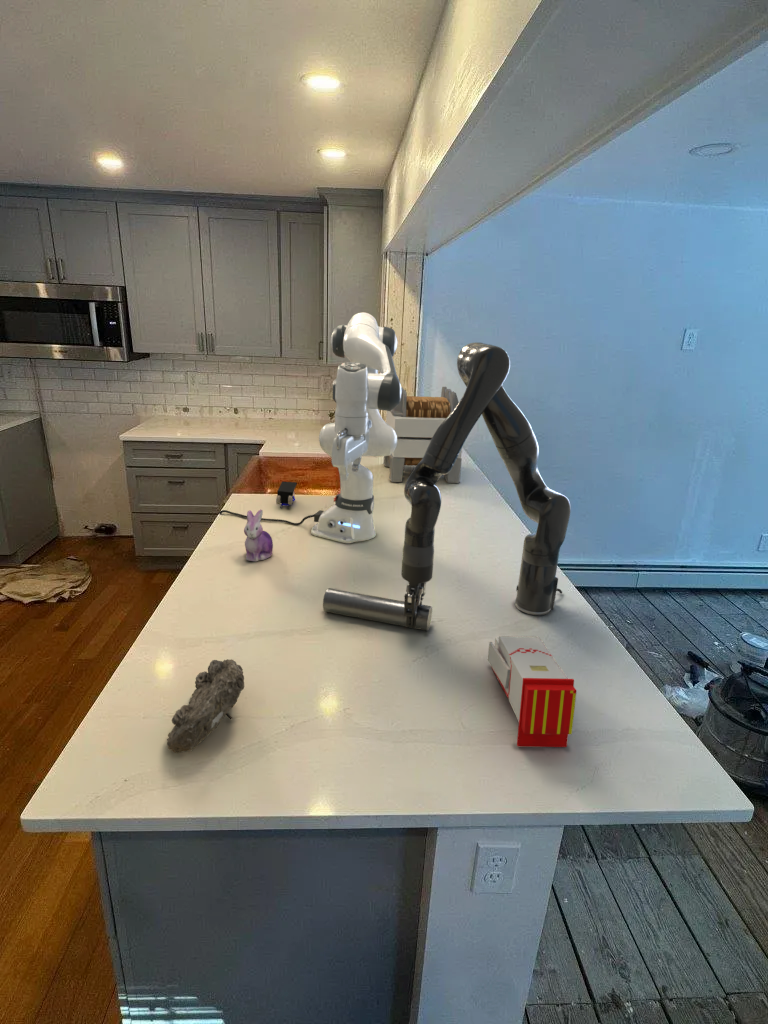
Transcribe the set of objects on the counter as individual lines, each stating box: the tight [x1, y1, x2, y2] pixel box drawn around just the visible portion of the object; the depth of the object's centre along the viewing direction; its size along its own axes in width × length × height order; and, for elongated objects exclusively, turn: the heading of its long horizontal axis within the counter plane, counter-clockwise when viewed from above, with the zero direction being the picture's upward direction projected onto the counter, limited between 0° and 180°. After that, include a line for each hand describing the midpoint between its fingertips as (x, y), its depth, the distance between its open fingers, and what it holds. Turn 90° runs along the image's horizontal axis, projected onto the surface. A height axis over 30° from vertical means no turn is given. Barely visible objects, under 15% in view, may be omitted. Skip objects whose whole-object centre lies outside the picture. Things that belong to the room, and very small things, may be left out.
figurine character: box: [275, 480, 298, 509], centre depth 223 cm, size 7×8×15 cm
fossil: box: [166, 658, 245, 754], centre depth 106 cm, size 22×10×15 cm
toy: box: [486, 635, 577, 748], centre depth 115 cm, size 12×13×30 cm
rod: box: [322, 587, 433, 632], centre depth 144 cm, size 27×6×6 cm, turn 74°
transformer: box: [383, 386, 463, 484], centre depth 268 cm, size 34×33×41 cm
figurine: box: [243, 508, 274, 562], centre depth 175 cm, size 9×10×15 cm
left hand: (350, 475), depth 156 cm, fingers open, 8 cm apart
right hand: (413, 620), depth 142 cm, fingers closed on rod, 6 cm apart
